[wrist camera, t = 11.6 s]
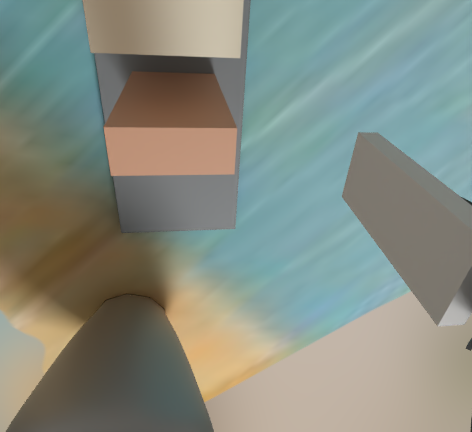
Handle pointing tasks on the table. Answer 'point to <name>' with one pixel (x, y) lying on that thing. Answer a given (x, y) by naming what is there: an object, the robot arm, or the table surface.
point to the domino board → (177, 186)
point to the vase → (118, 377)
